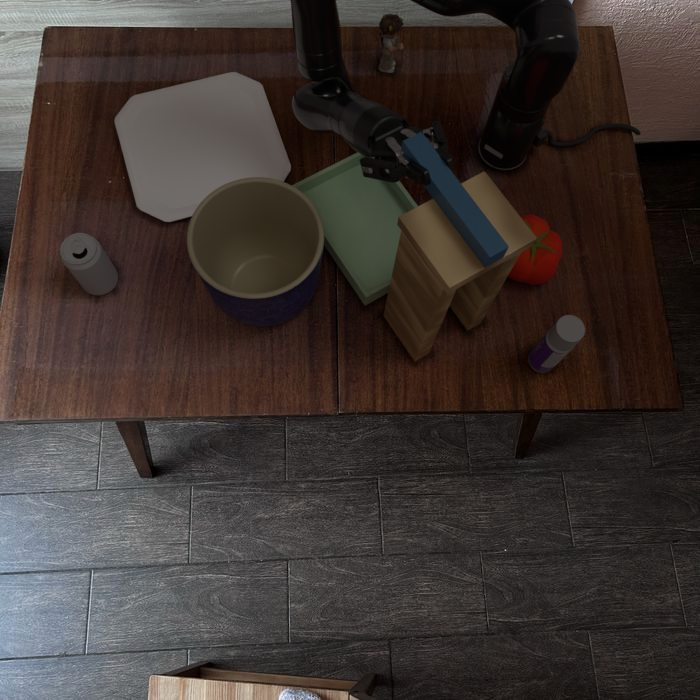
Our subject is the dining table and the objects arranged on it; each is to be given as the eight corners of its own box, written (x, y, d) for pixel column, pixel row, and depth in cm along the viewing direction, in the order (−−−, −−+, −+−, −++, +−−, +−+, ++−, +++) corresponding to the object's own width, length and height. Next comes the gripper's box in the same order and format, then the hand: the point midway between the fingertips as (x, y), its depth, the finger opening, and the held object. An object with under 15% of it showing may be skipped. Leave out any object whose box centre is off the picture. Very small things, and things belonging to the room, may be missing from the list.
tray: (371, 156, 132) (373, 144, 129) (447, 259, 125) (450, 250, 122) (291, 196, 129) (290, 185, 125) (364, 305, 122) (365, 297, 118)
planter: (191, 257, 124) (168, 200, 106) (300, 221, 127) (296, 159, 109) (228, 360, 117) (211, 317, 100) (341, 319, 121) (344, 271, 103)
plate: (256, 73, 138) (255, 65, 136) (299, 193, 129) (298, 186, 127) (111, 107, 134) (108, 100, 132) (145, 234, 125) (142, 228, 123)
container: (525, 348, 120) (552, 315, 106) (552, 346, 120) (582, 313, 106) (530, 374, 118) (558, 343, 104) (557, 372, 119) (588, 341, 105)
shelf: (445, 273, 124) (484, 170, 94) (484, 327, 121) (537, 238, 91) (380, 310, 121) (398, 216, 91) (417, 366, 118) (449, 288, 88)
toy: (399, 81, 138) (407, 23, 124) (372, 76, 138) (377, 17, 124) (404, 57, 140) (413, -3, 126) (377, 52, 141) (383, -9, 126)
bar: (418, 145, 95) (421, 131, 92) (503, 257, 90) (509, 246, 87) (400, 154, 95) (402, 140, 92) (484, 268, 89) (489, 257, 86)
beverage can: (90, 303, 120) (65, 272, 109) (77, 273, 122) (51, 239, 111) (125, 288, 121) (104, 256, 110) (111, 258, 123) (90, 224, 112)
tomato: (474, 243, 127) (485, 219, 119) (535, 222, 128) (549, 198, 120) (504, 303, 123) (517, 282, 115) (566, 281, 125) (583, 259, 117)
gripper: (326, 128, 98) (388, 170, 86) (409, 87, 101) (480, 123, 89) (339, 174, 104) (399, 220, 91) (417, 134, 106) (486, 174, 94)
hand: (439, 172), depth 90 cm, fingers closed on bar, 3 cm apart
